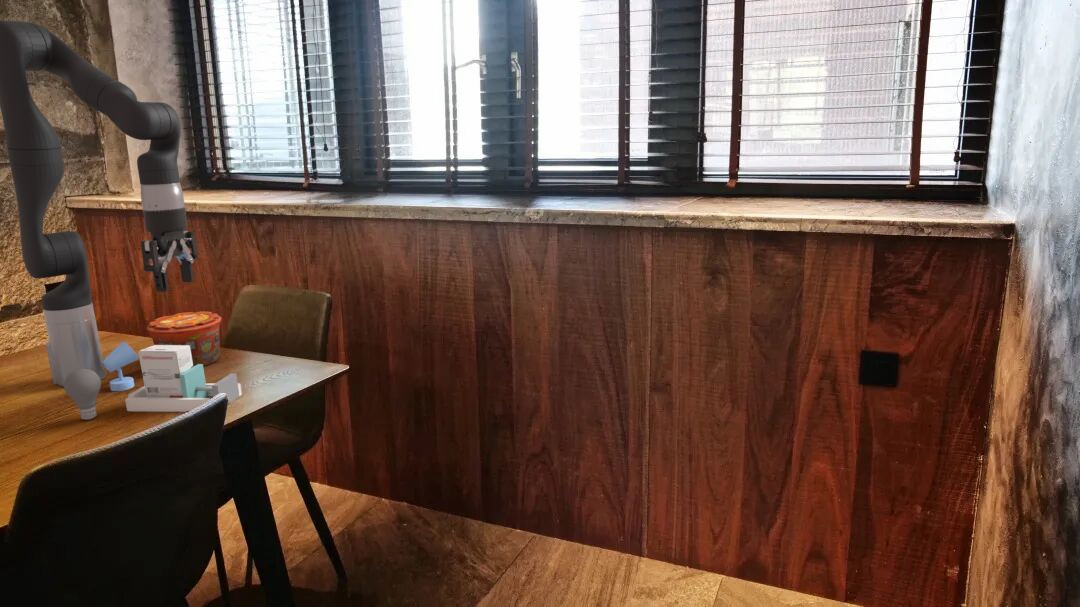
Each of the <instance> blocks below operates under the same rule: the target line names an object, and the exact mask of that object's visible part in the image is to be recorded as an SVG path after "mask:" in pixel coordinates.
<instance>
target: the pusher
mask: <svg viewBox="0 0 1080 607" xmlns="http://www.w3.org/2000/svg"><path fill="white" fill-rule="evenodd" d="M179 376H180V382H181V388H182V394H183V398H207V397H209V396H208V395H207V391H212V387H206V382H207V381H206V376H205V369H204V367H203V364H198V365H196V366H194V367H192V368H191V369H189V370H187V371H185V372H184V373H182V374H180V375H179Z"/></svg>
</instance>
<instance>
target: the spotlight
mask: <svg viewBox="0 0 1080 607" xmlns="http://www.w3.org/2000/svg"><path fill="white" fill-rule="evenodd" d="M137 360H140V359H139V355H138V354H137V353H136V351H135V350H134V349H133V348H132V347H131V346H130V345H129V344H128V343H127V342H126V341H124V340H123V341H121V342H120V343H119V344H118V345H117V346H116V348H114V349H113V350H112V351H111V352H110V353H109V354H107V356H106V357H105V358H103V361H102V364H103V365H104V368H105V370H107V371H108V372H109V373H113V372H115V371H117V375H118V377H117V378H114V379H112V380H110V381H109V387H110V391H112V392H122V391H127V390H131V389H132V388H134V387H135V381H134V378H133V377H131V376H124V374H123V372H122V368H123V367H125V366H127V365H129V364H132V363H134V362H135V361H137Z"/></svg>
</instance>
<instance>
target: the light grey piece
mask: <svg viewBox="0 0 1080 607" xmlns="http://www.w3.org/2000/svg"><path fill="white" fill-rule="evenodd" d="M237 376H238V375H237V373H231V372H230V373H229V374H228V375H226V376H225V377H223V378H221V379H220V380H218V381H217V382H215V383H214V382H212V383H210V382H209V383H206V387H212V391H207V395H208V396H207V397H205V398H147V396H146V391H145V386H144V385H143V386H141V387H140V388H138V389H137V390H135V391H133V392H131V393H129V394H128V395H127V397H126V398H125V399H124V401H125V406H126V411H127V412H171V413H172V412H173V413H174V412H175V413H176V412H182V413H183V412H186V411H189V410H191V409H193V408H195V407H197V406H199V405H201V404H202V403H204V402H205V401H207V400H209V399H210V398H211V397H212V398H213V397H214V396H215V395H217V394H219V393H226V394H227V395H228V397H229V401H230V404H231V403H233V402H234V401H235V400H237V399H238V398H239V397H241V396H242V394H243V393H242V384H241V383H239V382H238V377H237Z"/></svg>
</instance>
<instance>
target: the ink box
mask: <svg viewBox="0 0 1080 607" xmlns="http://www.w3.org/2000/svg"><path fill="white" fill-rule="evenodd" d="M137 353H138V354H137V355H138V357H139V359H138V360H139V363H140V369H141V374H142V379H143V386H145V391H146V396H147V398H183V394H182V388H181V382H180V376H179V375H180V374H182V373H184V372H185V371H187V370H189V369H191V368H192V367H193V361H192V355H191V349H190V345H154V344H153V345H151V346H149V347H146V348H143V349H140V350H138V352H137Z"/></svg>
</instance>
